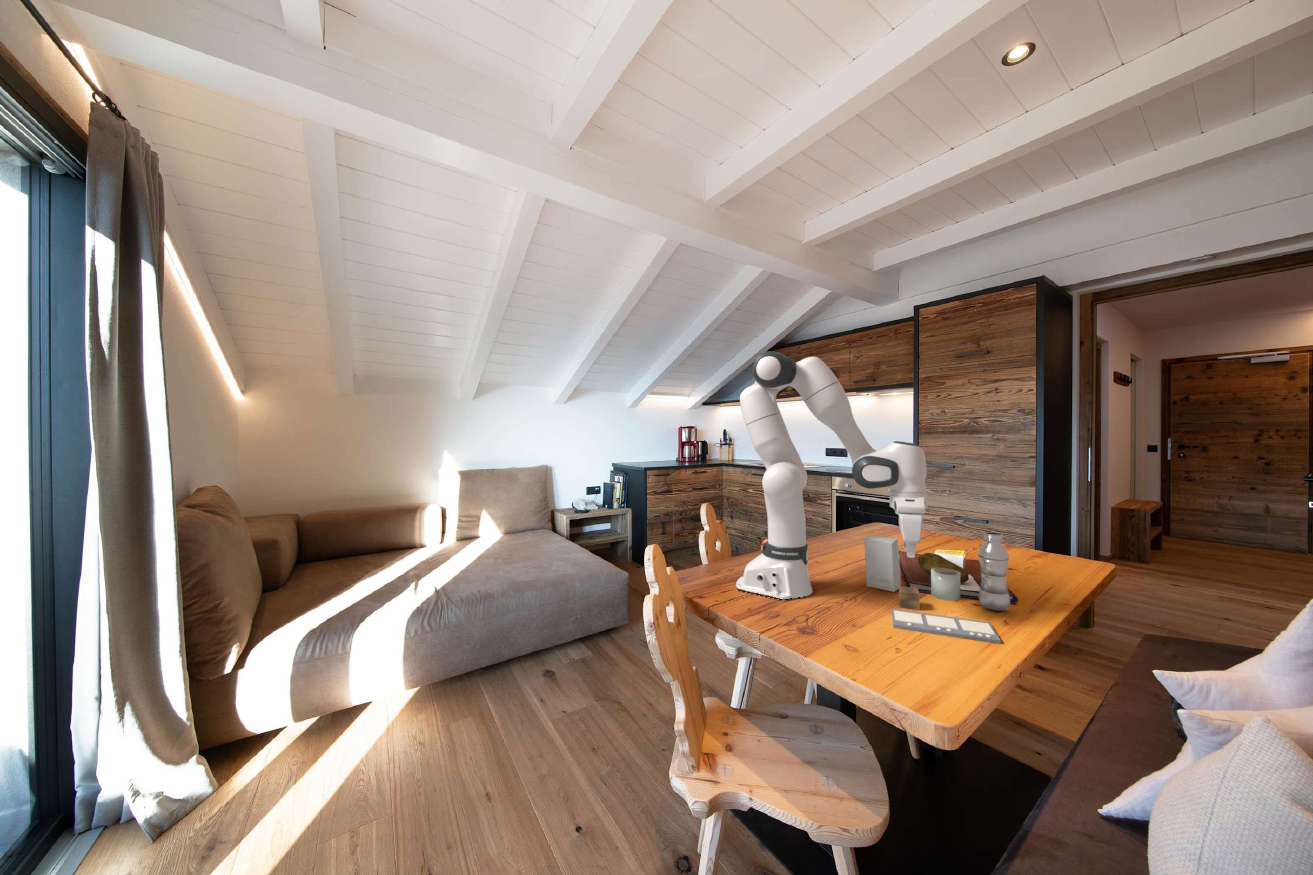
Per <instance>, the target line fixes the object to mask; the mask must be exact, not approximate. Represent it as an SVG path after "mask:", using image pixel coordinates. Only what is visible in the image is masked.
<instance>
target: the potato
mask: <svg viewBox="0 0 1313 875" xmlns="http://www.w3.org/2000/svg"><path fill="white" fill-rule="evenodd" d="M917 563H918V566H919V567H920V569H921V570H922V571H923V572H924V573H925V574H927V575H929V577H931V569H932V568H948V569H952V570H956V571H958V572H960V584H964V583H966V582H967V581H968V580H969V579H970V578H969V572H968V571H967V569H965V568H964V567H962V566H960V565H958V564H956V563H954V562H952V561H950V560H949V559H947V558H945V557H943V556H941V555H940V554H937V553H932V552H925V553H922V554H921V555H919V557H918V559H917Z"/></svg>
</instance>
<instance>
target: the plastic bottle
mask: <svg viewBox="0 0 1313 875" xmlns="http://www.w3.org/2000/svg"><path fill="white" fill-rule="evenodd" d="M983 540H984V543H982V545H980V547H979V548H978V550H977V555H978V561H979V565H980V575H981V576H980V578H981V579H980V588H979V591H978V592H979V593H978V600H979V603H980V604H981V606H982V607H983V608H984V609H985V608H986V609H988V610H991V611H999V612H1005V611H1008V610H1009V609H1010V607H1011V606H1010V605H1011V597H1010V593H1009V588H1008V583H1007V582H1008V579H1007V578H1008V567H1009V561H1010V560H1009V559H1010V553H1009V551H1008V550H1007V549H1006V547H1005V546H1004V545H1003V541H1004V540H1003V533H1000V532H995V531H994V532H993V531H991V532H989V531H988V532H987V531H986V532H984V537H983Z"/></svg>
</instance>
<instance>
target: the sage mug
mask: <svg viewBox="0 0 1313 875" xmlns="http://www.w3.org/2000/svg"><path fill="white" fill-rule="evenodd" d="M930 594H931V595H932V596H933V597H934V598H936V599H941V600H945V601H954V602H955V601H959V600H961V583H960V572H958V571H956V570H952V569H948V568H932V569H931V576H930Z"/></svg>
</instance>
